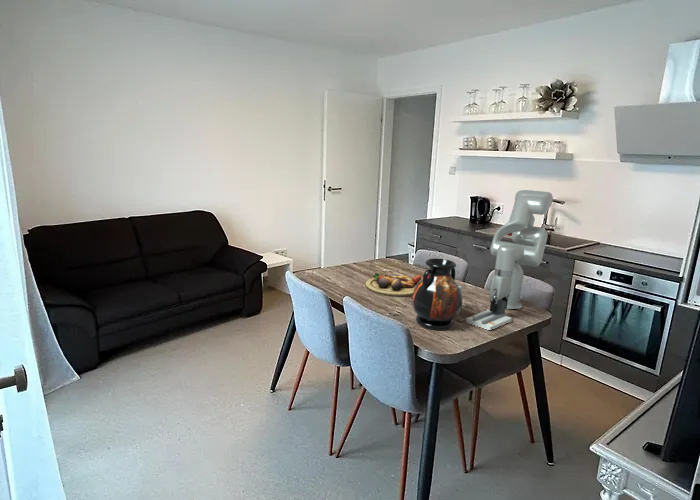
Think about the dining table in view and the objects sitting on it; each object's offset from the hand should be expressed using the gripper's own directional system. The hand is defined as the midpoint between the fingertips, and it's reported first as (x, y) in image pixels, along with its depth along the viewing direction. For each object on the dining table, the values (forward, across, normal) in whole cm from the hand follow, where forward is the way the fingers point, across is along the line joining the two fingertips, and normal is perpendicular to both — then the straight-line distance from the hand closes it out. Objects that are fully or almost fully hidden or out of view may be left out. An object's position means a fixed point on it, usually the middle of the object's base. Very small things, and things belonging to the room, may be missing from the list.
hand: (498, 309), depth 196 cm
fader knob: (+2, 0, 0) cm, 2 cm away
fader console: (+5, +7, 0) cm, 8 cm away
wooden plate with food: (+5, +7, -58) cm, 59 cm away
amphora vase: (+5, +29, -13) cm, 32 cm away
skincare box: (+5, +9, -18) cm, 21 cm away
